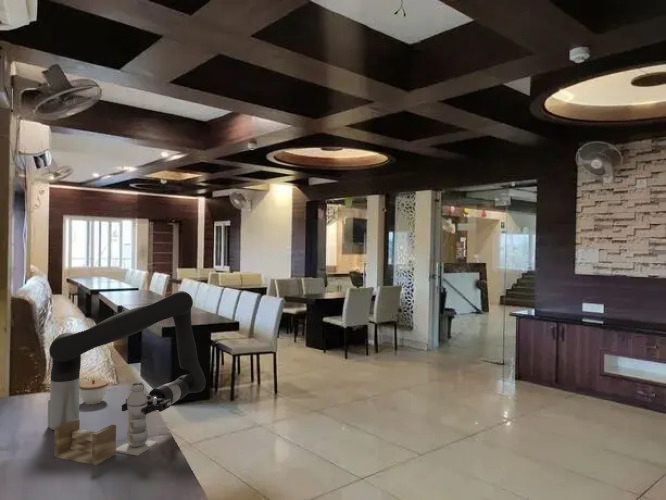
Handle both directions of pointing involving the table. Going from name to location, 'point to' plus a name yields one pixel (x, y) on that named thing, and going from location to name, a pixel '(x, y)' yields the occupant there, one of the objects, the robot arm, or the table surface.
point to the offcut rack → (84, 443)
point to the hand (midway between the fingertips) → (133, 409)
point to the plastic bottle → (137, 416)
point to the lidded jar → (93, 391)
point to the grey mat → (135, 448)
